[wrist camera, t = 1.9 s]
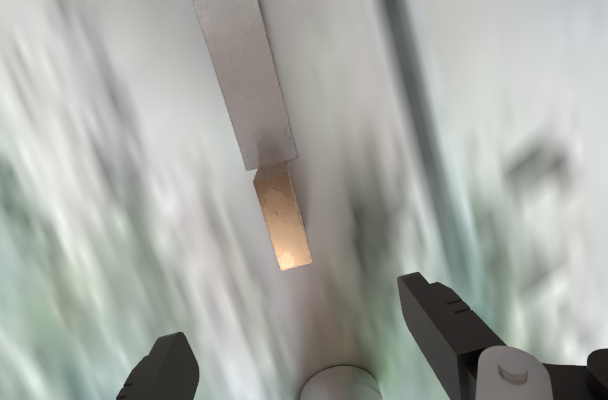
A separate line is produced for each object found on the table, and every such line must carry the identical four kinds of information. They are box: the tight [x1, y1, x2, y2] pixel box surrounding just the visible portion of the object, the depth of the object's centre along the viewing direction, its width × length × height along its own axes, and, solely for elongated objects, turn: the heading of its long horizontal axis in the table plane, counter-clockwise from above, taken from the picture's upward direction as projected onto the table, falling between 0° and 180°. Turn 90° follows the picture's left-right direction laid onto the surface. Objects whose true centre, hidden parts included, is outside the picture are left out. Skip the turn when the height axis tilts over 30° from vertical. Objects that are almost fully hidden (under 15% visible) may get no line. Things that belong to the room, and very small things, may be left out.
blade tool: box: [193, 0, 312, 271], centre depth 21 cm, size 22×7×6 cm, turn 14°
